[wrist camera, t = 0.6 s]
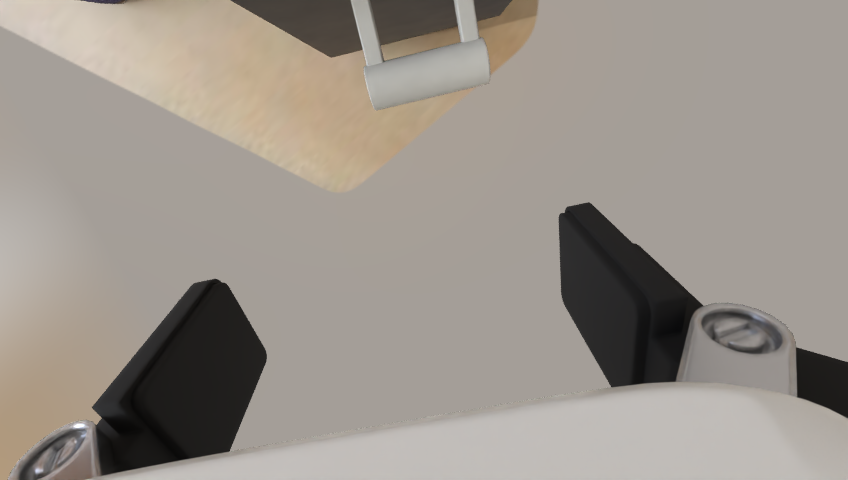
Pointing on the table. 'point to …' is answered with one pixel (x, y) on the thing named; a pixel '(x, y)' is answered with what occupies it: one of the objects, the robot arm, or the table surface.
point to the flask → (107, 1)
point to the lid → (392, 40)
